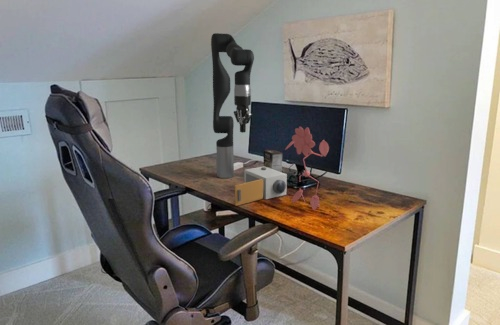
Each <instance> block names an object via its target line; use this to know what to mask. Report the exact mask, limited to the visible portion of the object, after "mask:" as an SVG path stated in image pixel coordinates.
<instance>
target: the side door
mask: <svg viewBox="0 0 500 325" xmlns="http://www.w3.org/2000/svg"><path fill="white" fill-rule="evenodd" d="M262 199H264V179H259V180H255V181H251V182H247V183H245V182H243V183H239V184H235V185H234V205H235V206H236V207H237V206H241V205H244V204H249V203H252V202H256V201H259V200H262Z"/></svg>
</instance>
